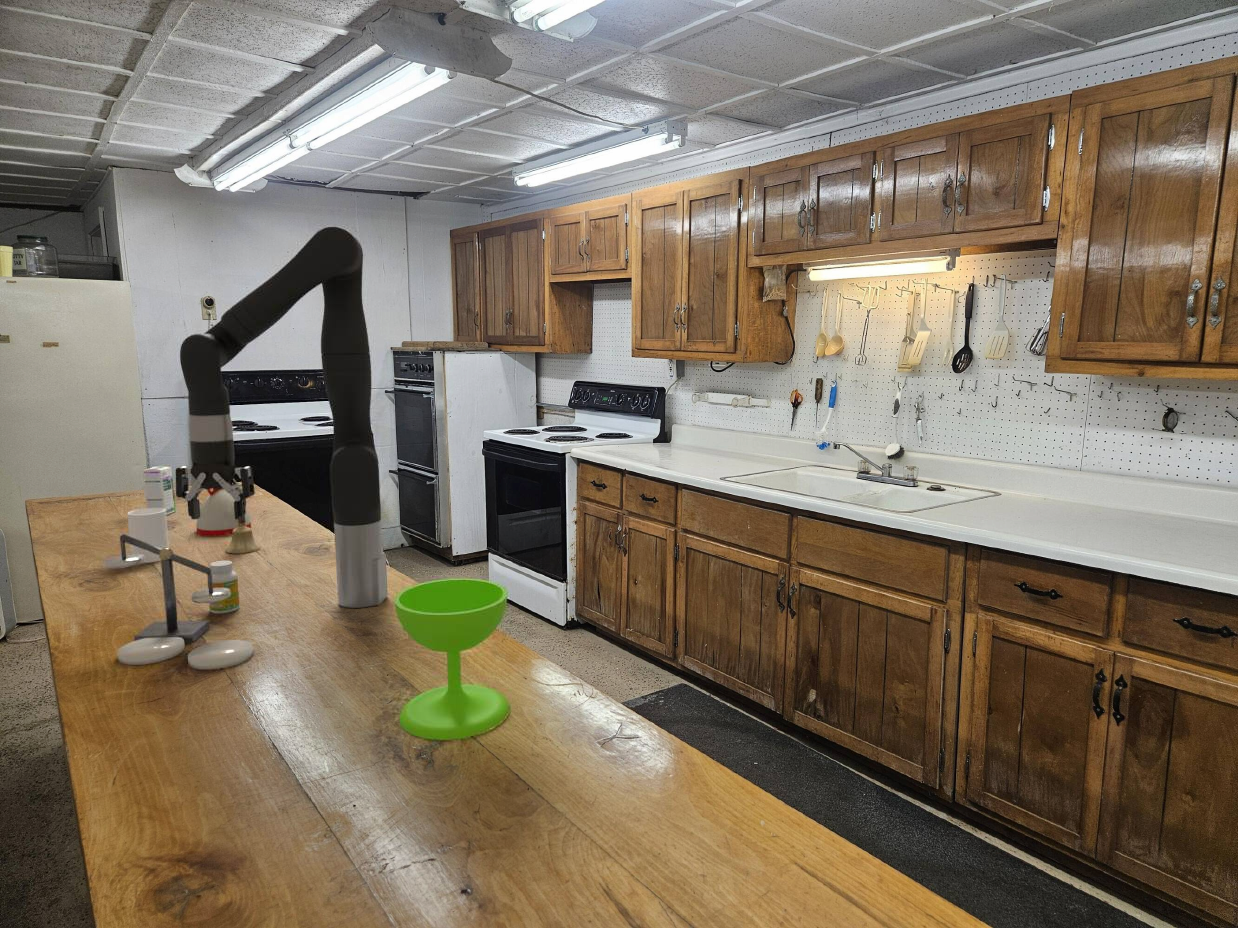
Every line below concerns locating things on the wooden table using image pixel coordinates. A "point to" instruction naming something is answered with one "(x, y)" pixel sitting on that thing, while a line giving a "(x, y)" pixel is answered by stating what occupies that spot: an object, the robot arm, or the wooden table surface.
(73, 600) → the wooden table surface
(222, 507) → the white chicken dome
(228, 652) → the dish low side
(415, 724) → the wineglass
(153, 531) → the mug
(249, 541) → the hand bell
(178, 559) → the balance
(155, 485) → the syrup box
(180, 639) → the dish high side
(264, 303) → the robot arm
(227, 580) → the supplement bottle
